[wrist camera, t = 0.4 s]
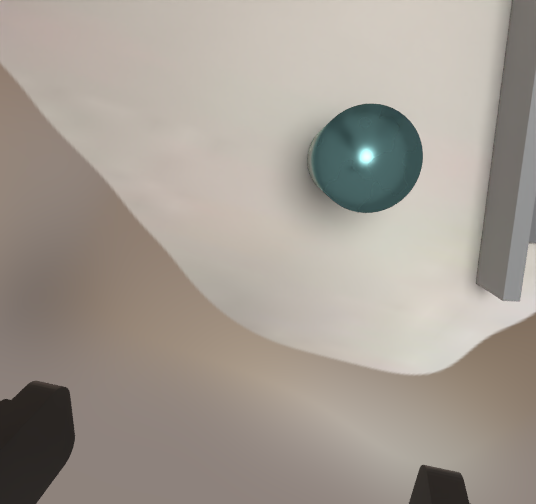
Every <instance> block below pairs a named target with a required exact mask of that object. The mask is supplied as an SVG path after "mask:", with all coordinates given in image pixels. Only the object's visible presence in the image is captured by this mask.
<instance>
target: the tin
mask: <svg viewBox="0 0 536 504" xmlns="http://www.w3.org/2000/svg"><path fill="white" fill-rule="evenodd" d="M422 161H423V152H422V145H421V140H420V138H419V135H418V133H417V131H416V129H415V127H414V126H413V125H412V123H411V122H410V121H409V120H408V119H407V118H406V117H405V116H404V115H403V114H401V113H400V112H399V111H397V110H395V109H393V108H391V107H388V106H385V105H380V104H362V105H357V106H354V107H351V108H349V109H347V110H345V111H343V112H342V113H340V114H338V115H337V116H336V117H335V118H334V119H332V120H331V121H330V122H329V123H328V124H327V125H326V126H325V127H324V128H323V129H322V130H321V131H320V132H319V133H318V134H317V135H316V137H315V138H314V139H313V141H312V143H311V145H310V148H309V151H308V157H307V165H308V170H309V174H310V176H311V178H312V180H313V181H314V183H315V184H316V185H317V187H319V188H320V189H321V190H322V191H323V192H324V193H325V194H326V195H327V196H328V197H330V198H331V199H332V200H333V201H334V202H336V203H337V204H338V205H340V206H342V207H344V208H346V209H349V210H351V211H356V212H362V213H372V212H378V211H382V210H385V209H387V208H390V207H392V206H393V205H395V204H397V203H398V202H400V201H401V200H402V199H403V198H404V197H405V196H406V195H407V194H408V193H409V192H410V191H411V190H412V188H413V187H414V185H415V183H416V182H417V179H418V177H419V175H420V171H421V167H422Z"/></svg>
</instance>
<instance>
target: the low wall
mask: <svg viewBox="0 0 536 504" xmlns="http://www.w3.org/2000/svg"><path fill="white" fill-rule="evenodd" d="M535 197H536V0H512V8H511V16H510V24H509V31H508V39H507V47H506V55H505V62H504V70H503V78H502V86H501V94H500V101H499V109H498V117H497V125H496V132H495V140H494V148H493V156H492V163H491V171H490V179H489V187H488V195H487V202H486V210H485V218H484V226H483V233H482V241H481V249H480V257H479V264H478V272H477V280H476V284H478V285H479V286H481V287H483V288H484V289H486V290H487V291H489V292H490V293H492V294H493V295H495V296H496V297H498V298H499V299H501V300H502V301H519V302H520V297H521V290H522V283H523V277H524V270H525V263H526V257H527V250H528V243H529V237H530V230H531V223H532V217H533V210H534V203H535Z"/></svg>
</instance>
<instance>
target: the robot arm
mask: <svg viewBox="0 0 536 504" xmlns="http://www.w3.org/2000/svg"><path fill="white" fill-rule="evenodd" d="M74 440H75V433H74V424H73V416H72V407H71V399H70V392H69V390H68V388H66V387H63V386H58V385H53V384H49V383H44V382H39V381H33V382H31V383H29V384H28V385H27V386H26V387H25V388H24V389H22V390H21V391H20V392H19V393H18V394H17V395H16V396H15V397H14V398H13V399H12V400H8V399H4V400H2V401H0V504H36V503H37V501H38V500H39V499H40V497H41V496H42V495H43V494H44V492H45V491H46V489H47V488H48V487H49V485H50V484H51V483H52V481H53V480H54V479H55V477H56V476H57V475H58V473H59V472H60V470H61V469H62V468H63V466H64V465H65V464H66V462H67V460H68V459H69V457H70V454H71V452H72V449H73V445H74ZM409 504H469V500H468V496H467V492H466V488H465V484H464V480H463V477H462V475H461V473H459V472H455V471H450V470H445V469H441V468H436V467H431V466H427V465H422V466H421V467H420V469H419V473H418V475H417V479H416V482H415V485H414V489H413V492H412V495H411V499H410V502H409Z"/></svg>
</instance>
